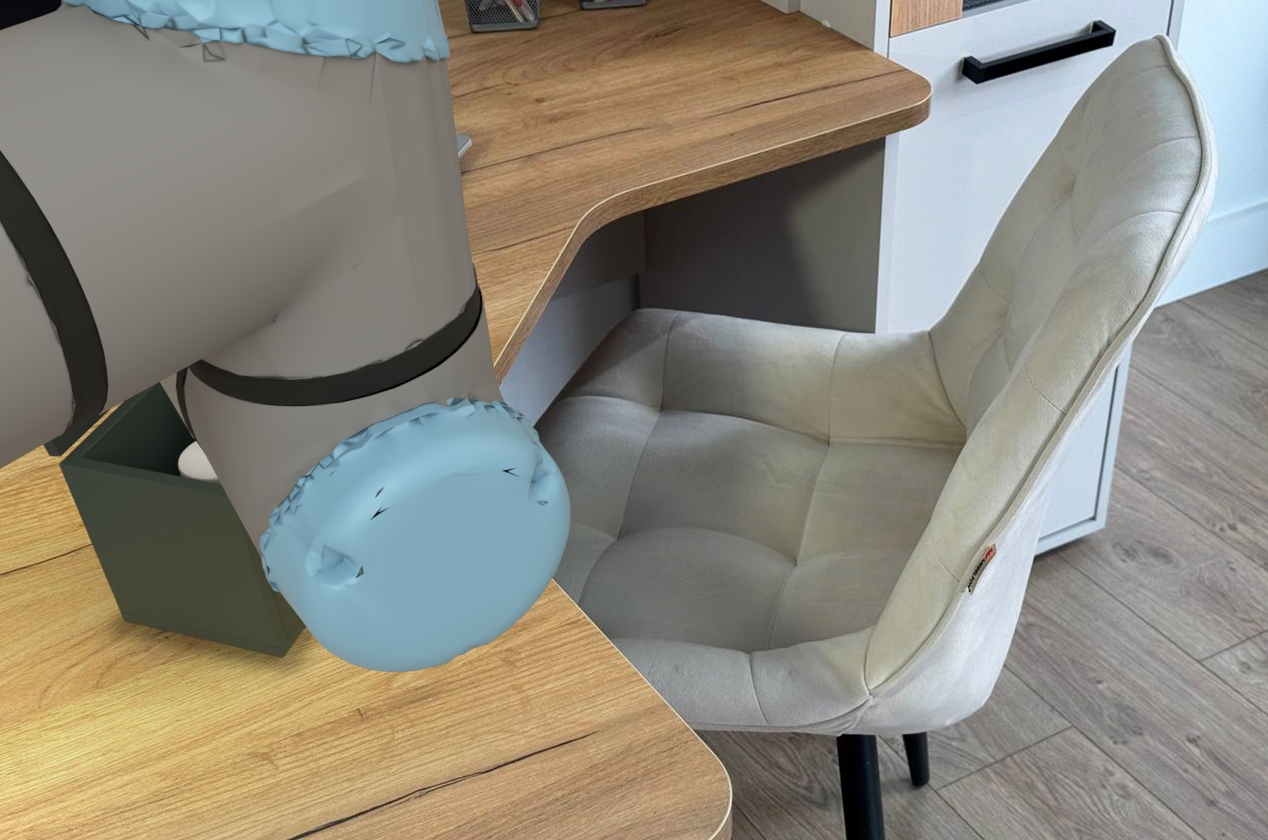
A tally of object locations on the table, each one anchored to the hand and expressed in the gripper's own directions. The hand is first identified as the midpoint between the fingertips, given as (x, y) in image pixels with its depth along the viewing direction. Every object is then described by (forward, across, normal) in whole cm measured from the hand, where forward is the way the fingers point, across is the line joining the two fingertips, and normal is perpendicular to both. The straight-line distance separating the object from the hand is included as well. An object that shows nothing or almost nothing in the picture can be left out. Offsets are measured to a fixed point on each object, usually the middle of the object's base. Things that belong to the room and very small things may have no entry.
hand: (99, 99), depth 58 cm
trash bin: (+2, 0, -31) cm, 31 cm away
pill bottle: (+1, 0, -31) cm, 31 cm away
